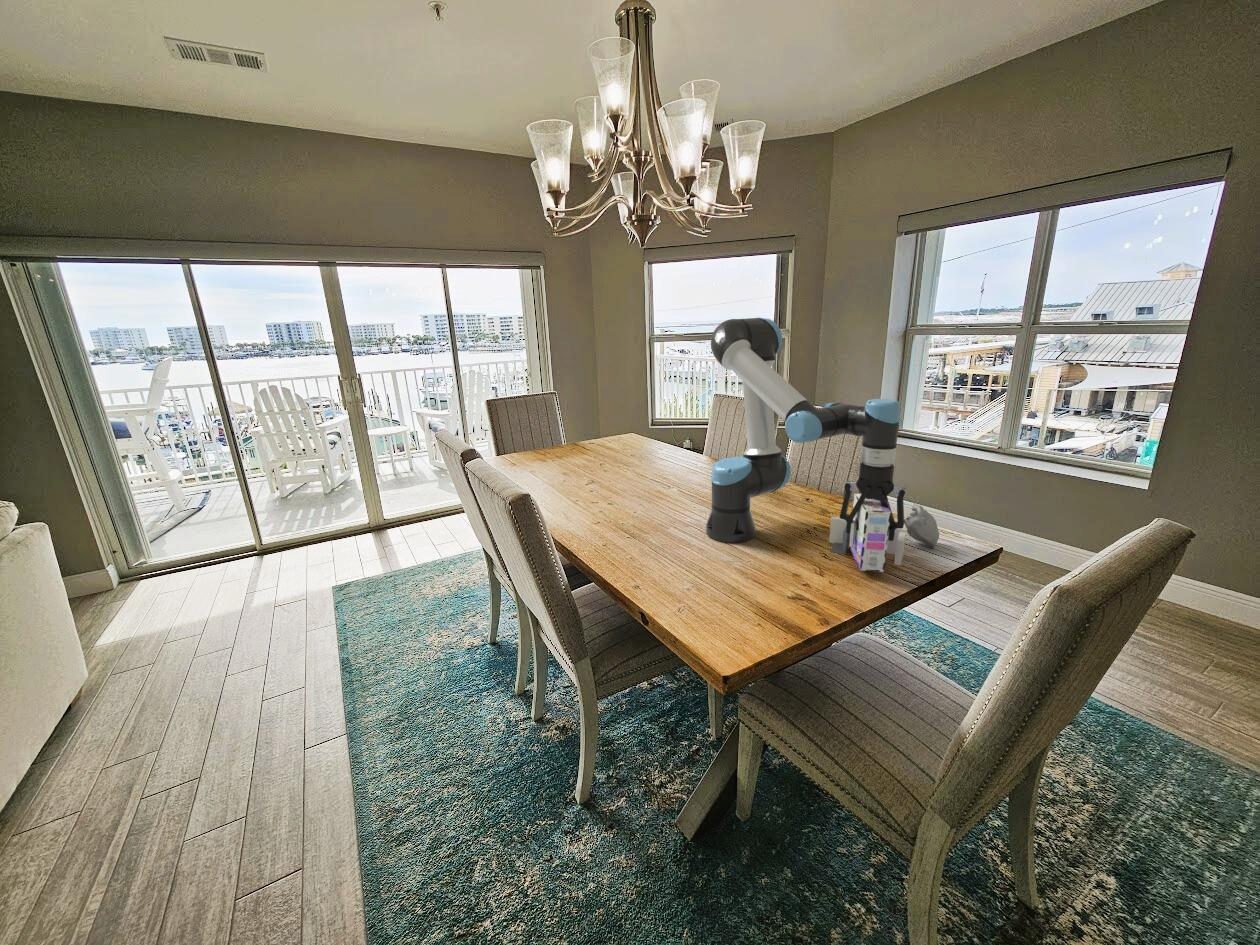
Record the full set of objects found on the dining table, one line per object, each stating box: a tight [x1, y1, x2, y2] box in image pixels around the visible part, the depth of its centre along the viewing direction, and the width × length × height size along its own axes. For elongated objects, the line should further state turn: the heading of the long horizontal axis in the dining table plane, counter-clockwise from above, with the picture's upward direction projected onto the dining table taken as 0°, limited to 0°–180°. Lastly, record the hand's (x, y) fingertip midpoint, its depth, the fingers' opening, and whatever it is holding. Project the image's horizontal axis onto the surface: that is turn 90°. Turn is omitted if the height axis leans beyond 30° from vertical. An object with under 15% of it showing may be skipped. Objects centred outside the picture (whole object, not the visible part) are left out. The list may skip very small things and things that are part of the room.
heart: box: [904, 504, 940, 548], centre depth 134 cm, size 10×10×12 cm
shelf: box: [828, 516, 907, 566], centre depth 133 cm, size 19×8×8 cm, turn 57°
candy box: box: [849, 492, 892, 573], centre depth 124 cm, size 14×6×16 cm, turn 167°
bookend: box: [829, 525, 850, 555], centre depth 135 cm, size 4×6×7 cm, turn 147°
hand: (868, 547), depth 124 cm, fingers closed on candy box, 7 cm apart
